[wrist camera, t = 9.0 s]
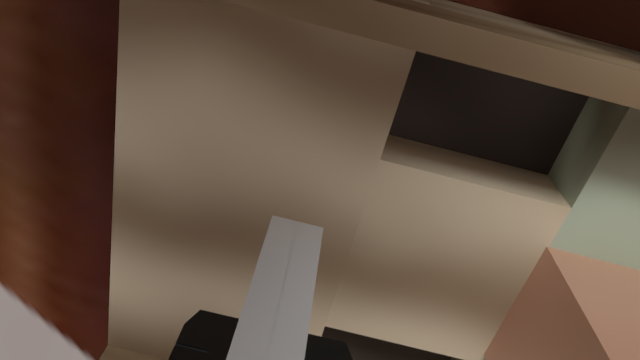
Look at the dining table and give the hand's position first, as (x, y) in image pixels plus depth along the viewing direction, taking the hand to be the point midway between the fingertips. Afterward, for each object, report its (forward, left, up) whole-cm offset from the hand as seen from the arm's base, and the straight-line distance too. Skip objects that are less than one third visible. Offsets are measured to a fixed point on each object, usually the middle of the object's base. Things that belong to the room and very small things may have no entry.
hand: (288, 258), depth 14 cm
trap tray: (0, +4, -4) cm, 6 cm away
